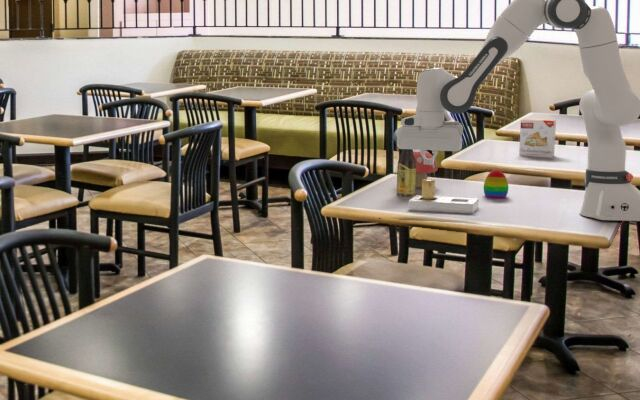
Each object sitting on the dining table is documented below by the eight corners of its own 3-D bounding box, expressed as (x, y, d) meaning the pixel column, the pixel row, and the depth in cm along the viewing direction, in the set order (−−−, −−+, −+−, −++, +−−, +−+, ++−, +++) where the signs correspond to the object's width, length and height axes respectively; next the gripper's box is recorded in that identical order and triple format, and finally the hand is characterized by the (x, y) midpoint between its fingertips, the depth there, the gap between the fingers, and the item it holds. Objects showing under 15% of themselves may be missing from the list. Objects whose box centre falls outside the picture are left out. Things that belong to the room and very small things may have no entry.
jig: (478, 207, 295) (478, 198, 295) (472, 213, 284) (473, 204, 283) (416, 204, 301) (416, 195, 300) (408, 210, 290) (408, 200, 289)
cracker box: (518, 168, 397) (520, 119, 394) (521, 166, 403) (522, 118, 399) (551, 170, 392) (553, 120, 388) (553, 168, 397) (556, 119, 394)
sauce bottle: (393, 197, 316) (394, 138, 313) (410, 196, 318) (411, 138, 315) (401, 199, 310) (402, 140, 307) (418, 199, 312) (419, 139, 309)
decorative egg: (502, 201, 307) (503, 171, 306) (479, 199, 312) (480, 169, 310) (511, 198, 314) (512, 169, 313) (488, 196, 319) (489, 167, 317)
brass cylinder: (435, 207, 295) (435, 179, 294) (432, 209, 291) (433, 181, 290) (422, 206, 296) (423, 178, 295) (420, 208, 293) (420, 180, 291)
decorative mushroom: (390, 191, 328) (391, 149, 326) (415, 188, 337) (416, 146, 335) (420, 196, 319) (421, 152, 316) (444, 192, 328) (445, 149, 325)
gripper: (464, 120, 289) (463, 164, 292) (400, 118, 295) (399, 161, 298) (461, 122, 283) (460, 167, 286) (396, 119, 289) (395, 164, 292)
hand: (428, 164), depth 292 cm, fingers closed
